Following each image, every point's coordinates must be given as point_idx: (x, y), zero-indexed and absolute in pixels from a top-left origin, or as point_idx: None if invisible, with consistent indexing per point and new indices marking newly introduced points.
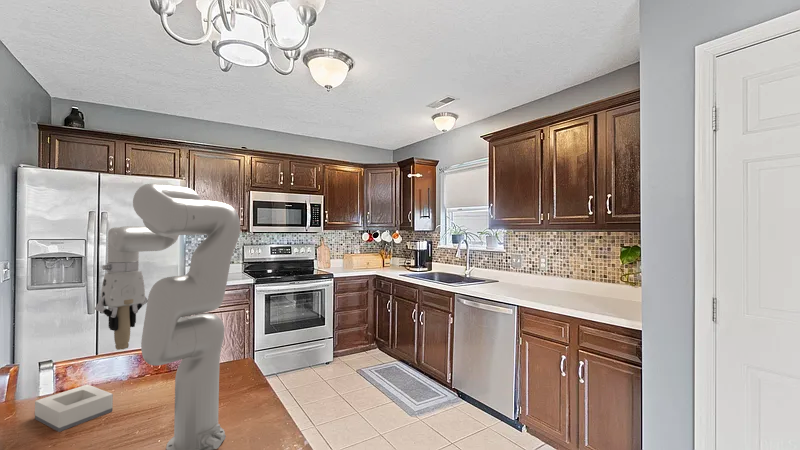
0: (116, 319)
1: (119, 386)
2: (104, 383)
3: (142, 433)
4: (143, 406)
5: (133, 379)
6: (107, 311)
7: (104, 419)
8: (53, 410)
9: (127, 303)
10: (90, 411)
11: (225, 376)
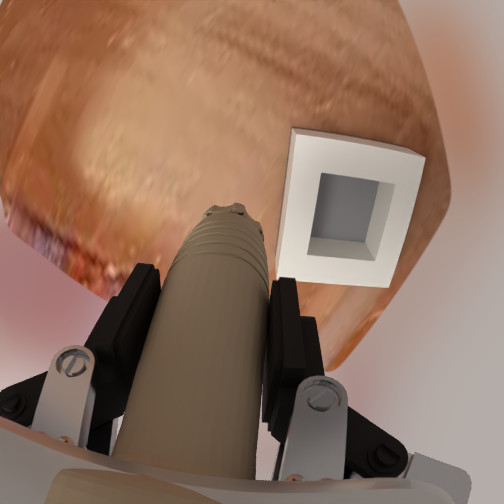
0: (295, 348)
1: None
2: None
3: None
4: (234, 75)
5: None
6: (385, 452)
7: (328, 101)
8: (417, 190)
9: (164, 500)
10: (349, 138)
11: (18, 75)
